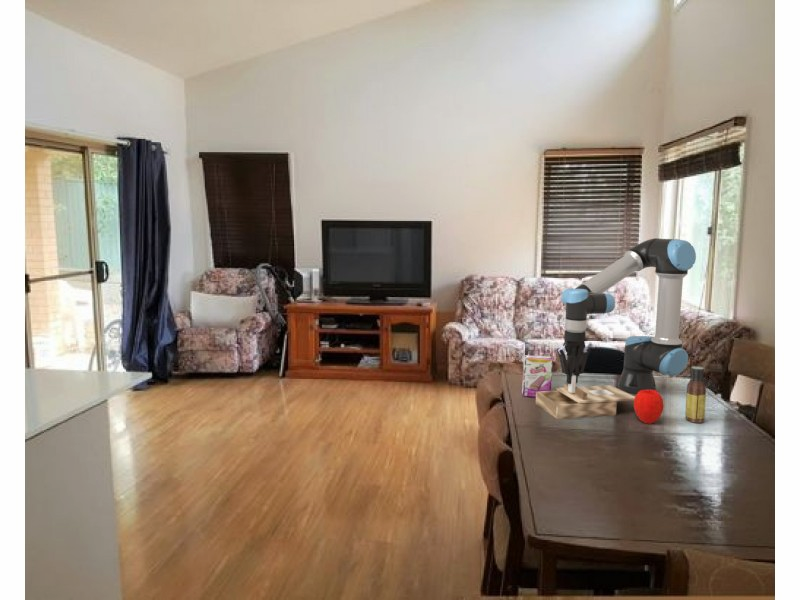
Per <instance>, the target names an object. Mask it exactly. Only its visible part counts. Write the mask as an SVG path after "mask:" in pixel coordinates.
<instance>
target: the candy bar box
mask: <svg viewBox="0 0 800 600" xmlns="http://www.w3.org/2000/svg"><path fill="white" fill-rule="evenodd" d="M522 366H523V369H522V371H523V372H522V384H521V394H522V397H523V398H526V397H527V398H536V392H540V391H552V379H553V366H554V359H553V358H552V356H546V355H545V356H541V355H528V354H527V355H526V354H525V355H524V356H523V365H522Z"/></svg>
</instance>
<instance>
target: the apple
mask: <svg viewBox="0 0 800 600" xmlns="http://www.w3.org/2000/svg"><path fill="white" fill-rule="evenodd" d="M634 396H635V399H634V400H633V408H634V412H635V415H636V416H637V417H638V419H639V421H641V422H642V423H644V424H647V425H648V424H649V425H651V424H654V423H655V422H657V421H658V420H659V418H660V417H661V416H662V414H663V411H664V400H663V396H662V394H660V393H659V392H658V391H657V390H656V391H655V390H650V389H649V390H641V391H639V392H638V393H635V395H634Z"/></svg>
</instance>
